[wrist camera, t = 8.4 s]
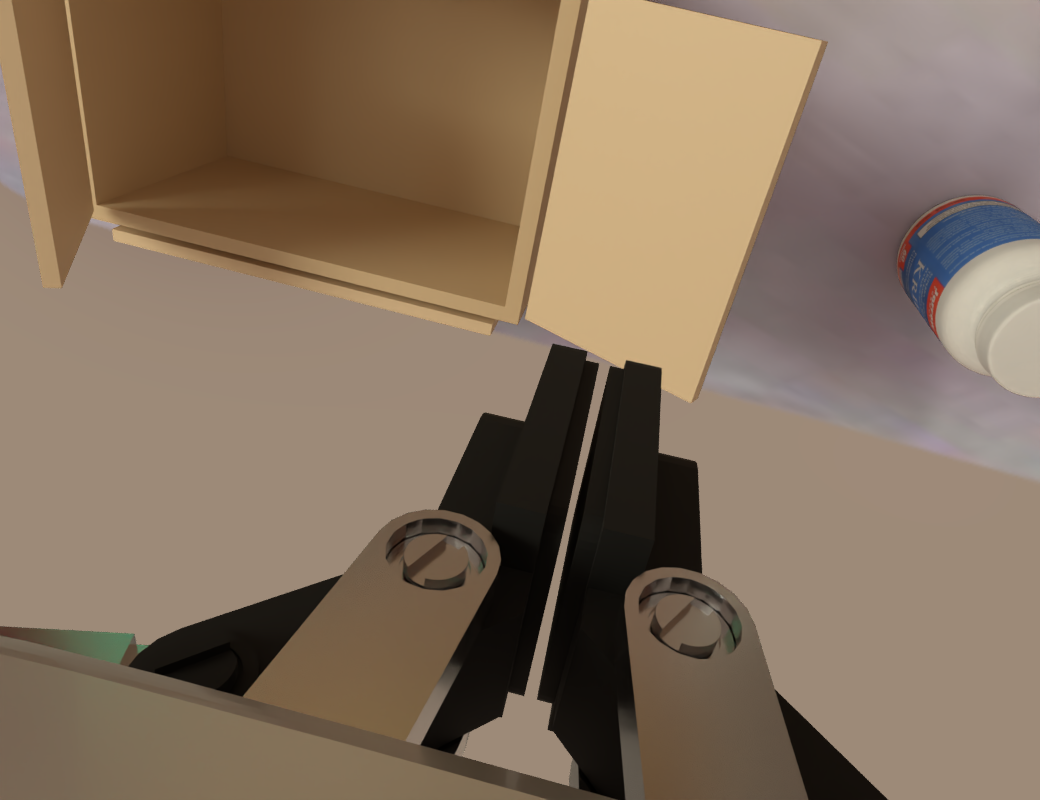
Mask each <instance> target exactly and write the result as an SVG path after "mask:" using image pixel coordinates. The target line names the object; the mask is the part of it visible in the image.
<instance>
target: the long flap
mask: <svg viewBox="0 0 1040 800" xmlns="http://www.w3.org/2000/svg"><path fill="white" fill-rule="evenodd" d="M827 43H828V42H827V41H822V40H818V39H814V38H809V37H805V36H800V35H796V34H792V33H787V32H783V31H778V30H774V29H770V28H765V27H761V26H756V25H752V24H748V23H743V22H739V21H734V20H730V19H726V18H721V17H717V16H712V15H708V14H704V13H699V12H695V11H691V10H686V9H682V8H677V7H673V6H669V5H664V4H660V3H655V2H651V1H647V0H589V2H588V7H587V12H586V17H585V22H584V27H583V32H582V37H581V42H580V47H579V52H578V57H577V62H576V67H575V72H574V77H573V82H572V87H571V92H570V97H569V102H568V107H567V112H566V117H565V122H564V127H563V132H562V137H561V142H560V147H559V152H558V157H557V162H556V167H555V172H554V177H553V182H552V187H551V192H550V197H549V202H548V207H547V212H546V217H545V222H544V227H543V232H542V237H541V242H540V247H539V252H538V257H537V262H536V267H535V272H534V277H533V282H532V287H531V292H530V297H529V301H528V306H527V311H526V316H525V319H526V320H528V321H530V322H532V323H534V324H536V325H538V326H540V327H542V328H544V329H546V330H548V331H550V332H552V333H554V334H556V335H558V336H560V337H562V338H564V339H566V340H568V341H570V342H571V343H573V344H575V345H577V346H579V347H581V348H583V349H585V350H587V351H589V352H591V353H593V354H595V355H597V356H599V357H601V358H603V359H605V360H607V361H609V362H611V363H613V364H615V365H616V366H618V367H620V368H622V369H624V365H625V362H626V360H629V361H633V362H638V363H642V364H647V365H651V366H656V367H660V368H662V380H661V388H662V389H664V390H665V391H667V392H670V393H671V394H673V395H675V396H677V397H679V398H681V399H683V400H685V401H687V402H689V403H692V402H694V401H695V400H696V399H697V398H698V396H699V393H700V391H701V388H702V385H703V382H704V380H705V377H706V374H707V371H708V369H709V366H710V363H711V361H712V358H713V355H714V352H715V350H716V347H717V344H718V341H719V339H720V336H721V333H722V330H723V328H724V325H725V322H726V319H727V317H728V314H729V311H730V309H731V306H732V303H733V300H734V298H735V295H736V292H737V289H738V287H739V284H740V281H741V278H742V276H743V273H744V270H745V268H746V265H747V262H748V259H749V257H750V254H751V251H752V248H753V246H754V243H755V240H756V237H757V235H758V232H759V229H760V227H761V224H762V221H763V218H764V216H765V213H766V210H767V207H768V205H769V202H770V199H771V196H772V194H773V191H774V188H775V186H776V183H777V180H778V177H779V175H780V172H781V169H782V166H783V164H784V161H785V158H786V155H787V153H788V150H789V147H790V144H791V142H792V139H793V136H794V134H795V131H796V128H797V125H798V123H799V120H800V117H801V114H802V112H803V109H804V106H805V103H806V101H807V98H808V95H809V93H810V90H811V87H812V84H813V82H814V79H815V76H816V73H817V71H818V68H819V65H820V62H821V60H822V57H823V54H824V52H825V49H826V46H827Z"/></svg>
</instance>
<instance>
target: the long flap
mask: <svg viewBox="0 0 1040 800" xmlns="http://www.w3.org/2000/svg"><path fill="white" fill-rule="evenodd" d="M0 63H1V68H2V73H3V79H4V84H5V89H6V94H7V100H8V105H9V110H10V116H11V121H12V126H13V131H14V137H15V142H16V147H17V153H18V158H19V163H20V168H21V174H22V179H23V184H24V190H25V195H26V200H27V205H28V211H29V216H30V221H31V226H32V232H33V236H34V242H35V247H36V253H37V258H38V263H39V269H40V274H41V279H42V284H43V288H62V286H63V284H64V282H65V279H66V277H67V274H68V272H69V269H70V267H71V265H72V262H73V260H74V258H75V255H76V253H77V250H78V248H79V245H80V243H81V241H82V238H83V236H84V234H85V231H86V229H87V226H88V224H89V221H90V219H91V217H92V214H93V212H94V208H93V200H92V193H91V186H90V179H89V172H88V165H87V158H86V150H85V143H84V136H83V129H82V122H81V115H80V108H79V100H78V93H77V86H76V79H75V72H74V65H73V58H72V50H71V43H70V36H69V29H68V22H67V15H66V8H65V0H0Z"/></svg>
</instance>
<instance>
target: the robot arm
mask: <svg viewBox="0 0 1040 800" xmlns="http://www.w3.org/2000/svg"><path fill="white" fill-rule="evenodd" d="M586 356H587V351H584V350H579V349H575V348H570V347H566V346H561V345H557V344H553V345H552V347H551V350H550V353H549V356H548V359H547V361H546V364H545V367H544V370H543V372H542V375H541V378H540V381H539V384H538V387H537V389H536V392H535V395H534V398H533V401H532V404H531V406H530V409H529V412H528V415H527V417H526V420H525V422H524V421H520V420H515V419H511V418H507V417H502V416H498V415H494V414H489V413H483V414H482V416H481V418H480V420H479V422H478V424H477V426H476V429H475V431H474V433H473V435H472V437H471V439H470V441H469V444H468V446H467V448H466V450H465V452H464V454H463V457H462V459H461V461H460V463H459V465H458V467H457V470H456V472H455V474H454V476H453V478H452V481H451V482H450V485H449V487H448V489H447V491H446V493H445V495H444V498H443V500H442V502H441V504H440V506H439V509H438V510H421V511H416V512H410V513H406V514H404V515H402V516H400V517H397V518H395V519H393V520H391V521H390V522H389V523H388V524H387V525H385V526H384V527H383V528H382V529H381V530H380V531H379V532H378V533H377V534H376V535H375V537H374V538H373V539H372V540H371V541H370V543H369V544H368V545H367V546H366V547H365V549H364V550H363V551H362V553H361V554H360V555H359V556H358V557H357V558H356V560H355V561H354V562H353V563H352V564H351V566H350V567H349V568H348V570H347V571H346V572H345V573H344V574H343V575H340V576H337V577H334V578H331V579H328V580H325V581H322V582H319V583H316V584H313V585H310V586H307V587H304V588H301V589H298V590H295V591H292V592H289V593H286V594H283V595H280V596H277V597H274V598H271V599H268V600H265V601H262V602H259V603H256V604H253V605H250V606H247V607H244V608H241V609H238V610H235V611H232V612H229V613H226V614H223V615H220V616H217V617H214V618H211V619H208V620H205V621H202V622H199V623H196V624H193V625H190V626H187V627H184V628H181V629H179V630H177V631H174V632H172V633H170V634H168V635H166V636H164V637H161V638H159V639H157V640H156V641H155V642H153V643H152V644H151V645H136V639H135V634H128V633H110V632H93V631H92V632H91V631H75V630H57V629H40V628H38V629H37V628H22V627H4V626H0V800H887V798H886V797H885V796H884V795H883V794H882V793H880V791H878V790H877V789H876V788H875V787H874V786H873V785H872V784H871V783H870V782H869V781H868V780H867V779H866V778H865V777H864V776H863V775H862V774H861V773H860V772H859V771H858V770H857V769H856V768H855V767H854V766H853V765H852V764H851V763H850V762H849V761H848V760H847V759H846V758H845V757H844V756H843V755H842V754H841V753H839V751H837V750H836V749H835V748H834V747H833V746H832V745H831V744H830V743H829V742H828V741H827V740H826V739H825V738H824V737H823V736H822V735H821V734H820V733H819V732H818V731H817V730H816V729H815V728H814V727H813V726H812V725H811V724H810V723H809V722H808V721H807V720H806V719H805V718H804V717H803V716H802V715H801V714H800V713H799V712H798V711H796V710H795V709H794V708H793V707H792V706H791V705H790V704H789V703H788V702H787V701H786V700H785V699H784V698H783V697H782V696H781V695H780V694H779V693H778V692H777V691H776V690H775V689H774V685H773V682H772V679H771V676H770V672H769V669H768V666H767V662H766V659H765V656H764V653H763V650H762V646H761V643H760V640H759V636H758V633H757V630H756V626H755V624H754V622H753V620H752V618H751V616H750V614H749V611H748V609H747V608H746V607H745V606H744V604H743V603H742V602H741V601H740V600H739V599H738V598H737V596H736V595H735V594H734V593H732V592H731V591H730V590H728V589H727V588H726V587H724V586H723V585H722V584H720V583H719V582H717V581H715V580H713V579H711V578H709V577H707V576H705V575H703V574H702V561H701V560H702V559H701V535H700V511H699V489H698V488H699V486H698V468H697V463H696V462H695V461H691V460H687V459H683V458H679V457H674V456H670V455H666V454H662V453H658V449H659V426H660V402H661V380H662V368H660V367H656V366H651V365H647V364H642V363H638V362H633V361H629V360H626V362H625V365H624V369H621V368H617V367H612V366H610V369H609V373H608V377H607V381H606V385H605V389H604V393H603V398H602V401H601V405H600V410H599V414H598V418H597V422H596V426H595V430H594V434H593V438H592V442H591V447H590V451H589V455H588V459H587V463H586V467H585V471H584V475H583V479H582V483H581V488H580V491H579V495H578V500H577V504H576V508H575V512H574V517H573V521H572V526H571V531H570V536H569V541H568V546H567V552H566V556H565V562H564V566H563V571H562V576H561V581H560V586H559V591H558V596H557V602H556V606H555V611H554V616H553V622H552V627H551V631H550V636H549V642H548V647H547V652H546V656H545V662H544V666H543V671H542V676H541V682H540V686H539V691H538V697H537V700H541V701H545V702H548V703H552V708H551V714H550V719H549V725H548V730H550V731H553V732H554V733H555V734H556V736H557V737H558V738H559V740H560V741H561V743H562V744H563V745H564V747H565V748H566V749H567V751H568V752H569V753H570V755H571V756H572V758H573V760H572V763H571V769H570V776H569V786H566V785H562V784H559V783H555V782H552V781H548V780H544V779H541V778H537V777H534V776H530V775H526V774H522V773H519V772H515V771H512V770H508V769H504V768H501V767H497V766H494V765H490V764H486V763H482V762H479V761H476V760H472V759H468V758H465V757H462V755H463V753H464V751H465V748H466V744H467V740H468V737H469V732H470V731H472V730H474V729H476V728H478V727H480V726H482V725H484V724H486V723H488V722H490V721H492V720H494V719H496V718H498V717H502V715H503V711H504V707H505V702H506V698H507V694H508V692H511V693H515V694H519V695H522V696H524V694H525V690H526V685H527V681H528V677H529V672H530V668H531V664H532V660H533V656H534V652H535V648H536V644H537V639H538V635H539V631H540V627H541V622H542V618H543V614H544V610H545V605H546V601H547V597H548V593H549V589H550V585H551V581H552V576H553V572H554V568H555V564H556V559H557V555H558V551H559V547H560V543H561V539H562V534H563V530H564V525H565V521H566V517H567V512H568V508H569V503H570V498H571V494H572V489H573V484H574V479H575V475H576V470H577V465H578V461H579V456H580V451H581V447H582V442H583V437H584V433H585V428H586V423H587V418H588V413H589V409H590V404H591V400H592V395H593V390H594V386H595V381H596V376H597V371H598V367H599V363H594V362H590V361H586Z"/></svg>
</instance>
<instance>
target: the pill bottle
mask: <svg viewBox="0 0 1040 800" xmlns="http://www.w3.org/2000/svg"><path fill="white" fill-rule="evenodd" d="M897 273H898V277H899V281H900V283H901V285H902V287H903V289H904V291H905V293H906V294H907V295H908V297H909V298H910V300H911V301H912V302H913V304H914V305H915V307H916V308H917V309H918V311H919V312H920V314H921V315H922V316H923V318H924V319H925V321H926V322H927V324H928V325H929V327H930V328H931V329H932V331H933V332H934V333H935V335H936V337H937V338H938V339H939V341H940V342H941V343H942V345H943V346H944V347H945V349H946V350H947V351H948V352H949V354H950V355H951V356H952V357H953V358H954V359H955V360H956V361H957V362H959V363H960V364H961V365H963V366H964V367H966V368H968V369H970V370H972V371H974V372H976V373H979V374H982V375H987V376H991V377H993V378H994V379H995V380H996V381H997V383H998V384H1000V385H1001V386H1002V387H1003V388H1005V389H1007V390H1009V391H1010V392H1012V393H1015V394H1018V395H1022V396H1025V397H1033V398H1040V224H1039V223H1038V222H1037V221H1035V220H1034V219H1032V218H1031V217H1030V216H1028V215H1027V214H1025V213H1024V212H1023V211H1021V210H1020V209H1018V208H1017V207H1015V206H1014V205H1012V204H1010V203H1008V202H1006V201H1004V200H1001V199H999V198H995V197H991V196H984V195H970V196H963V197H958V198H955V199H951V200H948V201H946V202H943V203H941V204H939V205H937V206H935V207H934V208H932V209H930V210H929V211H927V212H926V213H925V214H923V215H922V216H921V217H920V218H919V219H918V220H917V221H916V222H915V223H914V224H913V225H912V226H911V228H910V229H909V230H908V232H907V233H906V235H905V237H904V238H903V240H902V242H901V245H900V248H899V251H898V256H897Z"/></svg>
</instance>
